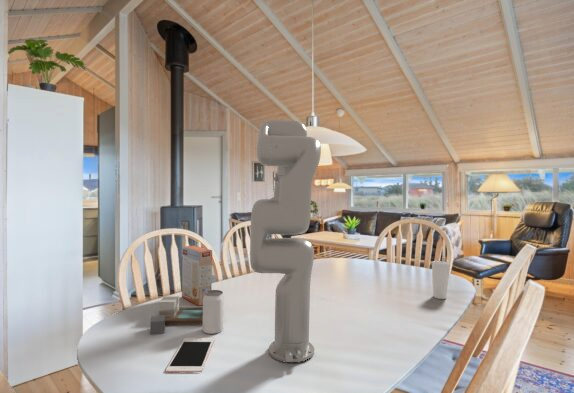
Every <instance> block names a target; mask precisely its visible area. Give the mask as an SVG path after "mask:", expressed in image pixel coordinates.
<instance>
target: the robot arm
mask: <svg viewBox="0 0 574 393" xmlns="http://www.w3.org/2000/svg"><path fill="white" fill-rule="evenodd" d="M256 143H257V144H256V158H257V160H258V162H259V163H260V165H262V166H266V167H277V176H274V177H273V181H275V182H277V183H274V184H275V185H274V191H273V196H272V197H271V198H262V199H258V200H257V201H255V202H254V204H253V205H252V209H251V213H250V233H249V234H250V238H249V239H250V242H249V243H250V244H249V248H250V249H249V260H250V268H251V270H252V271H254V272H255V273H259V274H284V275H283V277H282V278H281V279H280V280H279V282H278V283H277V285H276V288H275V299H274V300H275V301H274V302H275V303H274V304H275V305H274V310H275V311H274V341H272V342H271V343H270V344H269V346H268V354H269V355H270V356H271V357H272V358H273V359H275V360H276V359H277V361H279V360H280V361H279V362H282V361H285V362H284V363H287V362H298V363H301V362H300V361H303V362H306V361H308V360H310V359H311V358H312V357H314V355H315V347H314V345H313V344H312V343H311V342H310V302H311V301H310V299H311V277H312V271H313V265H314V259H315V249H314V246H313V244H312V243H311V242H310V241H308V240H306V239H303V238H297V237H296V238H295V237H290V238H289V237H280V238H279V237H277V238H276V237H275V238H272V237H271V238H270V237H269V236H270V235H301V234H304V233H307V231H308V230H309V227H310V224H311V207H312V206H311V205H312V186H313V181H314V178H315V175H316V172H317V169H318V167H319V165H320V164H319V163H320V160H321V154H322V147H321V142H320V141H319V140H318V139H317V138H316V137H315V138H314V137H311V136H308V132H307V128H306V125H304V124H303V123H302V122H300V121H297V120H291V119H290V120H289V119H266V120H264V121H263V122H262V124H260V127H259V131H258V134H257V142H256ZM268 237H269V238H268ZM309 358H310V359H309ZM307 359H308V360H307ZM305 360H306V361H305Z"/></svg>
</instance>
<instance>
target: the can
mask: <svg viewBox="0 0 574 393" xmlns="http://www.w3.org/2000/svg"><path fill="white" fill-rule="evenodd" d="M223 293H224V292H223V291H222V290H220V289H211V290H209V291H206V292H205V295H204V297H203V305H202V306H203V325H201V327H202V328H201V329H202V331H203V332H204V333H205V334H207V335H217V334H220V333H221V332H222V331H223V330H224V315H225V314H224V313H225V312H224V311H225V309H224V308H225V296H224V294H223Z"/></svg>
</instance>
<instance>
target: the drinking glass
mask: <svg viewBox="0 0 574 393" xmlns="http://www.w3.org/2000/svg"><path fill="white" fill-rule="evenodd" d="M449 278H450V262H448V261H443V260H434V261H433V260H432V264H431V280H432V297H433V298H435V299H439V300H446V299H447V298H448V297H447V296H448V295H447V294H448V288H449V287H448V286H449V281H450V280H449Z"/></svg>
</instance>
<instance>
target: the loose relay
mask: <svg viewBox="0 0 574 393" xmlns="http://www.w3.org/2000/svg"><path fill="white" fill-rule="evenodd" d="M149 324H150V327H149V328H150V333H149V335H150V336H151V335H152V336H153V335H161V334H165V330H166V329H165V328H166V325H165V315H151V318H150V323H149Z"/></svg>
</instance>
